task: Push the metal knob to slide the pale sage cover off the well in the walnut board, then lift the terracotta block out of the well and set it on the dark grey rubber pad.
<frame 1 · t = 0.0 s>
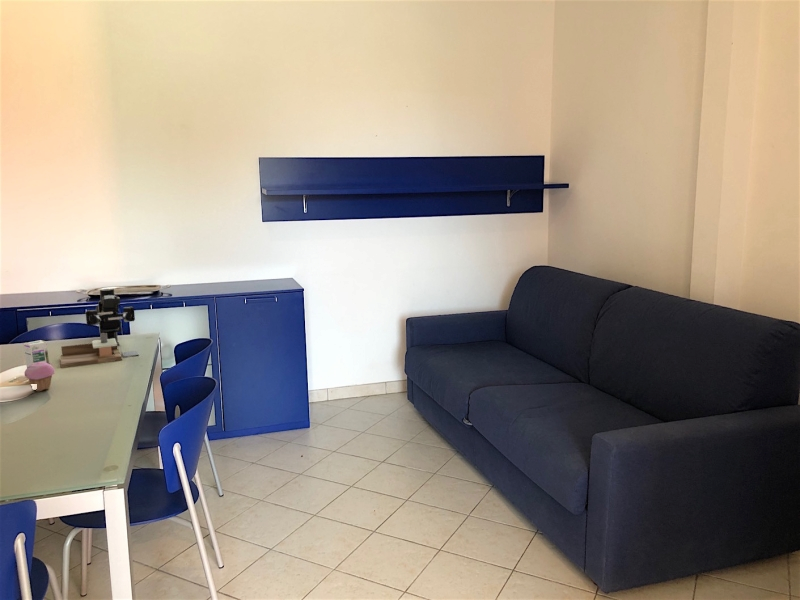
hand: (112, 319, 250), 17 cm above the table, tool horizontal, fingers open, 9 cm apart
terracotta block: (105, 357, 253), resting in walnut board
walnut board: (91, 359, 250), on the table
grey pad: (130, 354, 257), on the table
sliding cover: (104, 338, 253), point 8 cm above the table, slide at 0.0 cm
cupcake: (41, 390, 210), on the table
syrup box: (39, 380, 222), on the table
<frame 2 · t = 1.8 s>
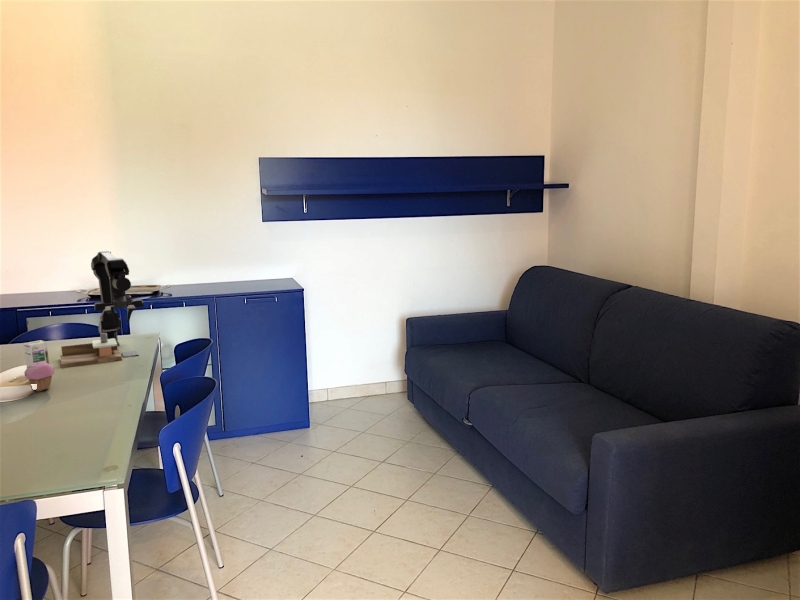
hand: (121, 324, 256), 13 cm above the table, tool pointing down, fingers open, 5 cm apart
nothing on the table moved.
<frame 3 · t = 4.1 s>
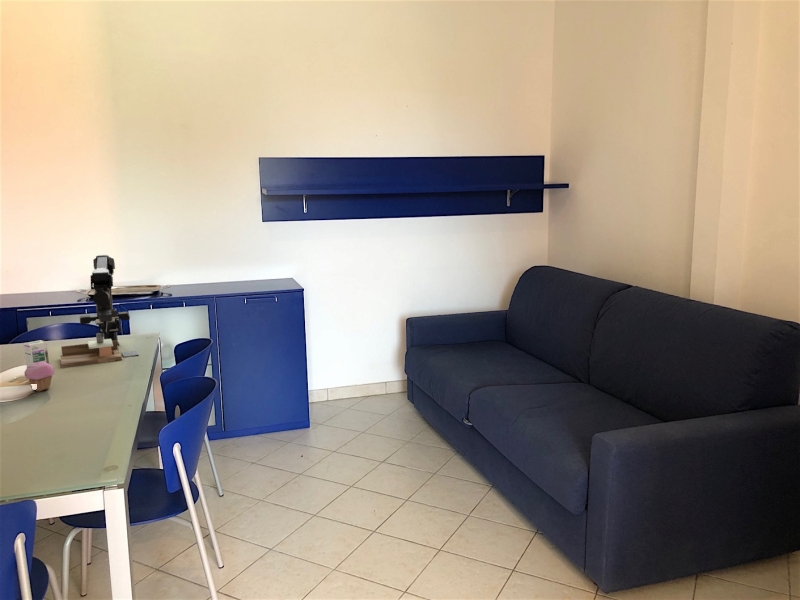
hand: (106, 337, 254), 8 cm above the table, tool pointing down, fingers closed
sliding cover: (99, 339, 253), point 8 cm above the table, slide at 1.6 cm, touching gripper
everything else where it was.
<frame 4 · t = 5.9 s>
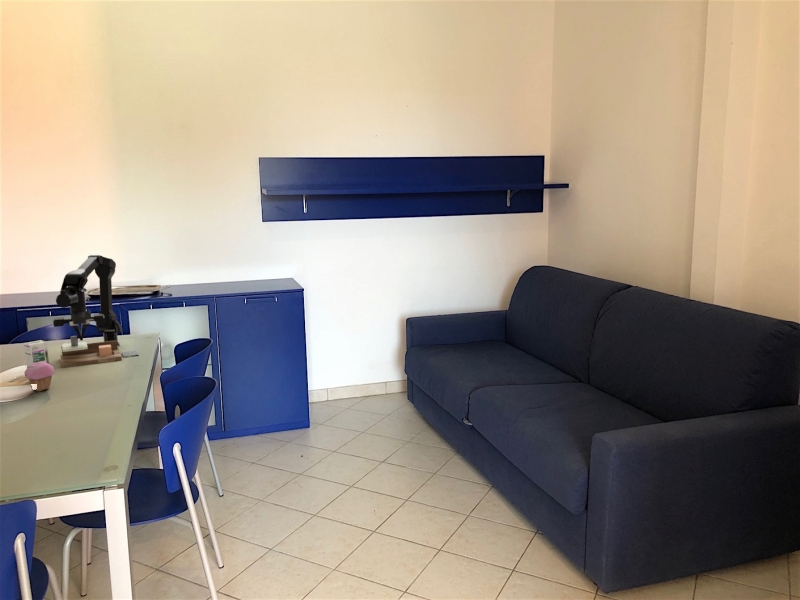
hand: (81, 340, 249), 8 cm above the table, tool pointing down, fingers closed
sliding cover: (74, 342, 248), point 8 cm above the table, slide at 11.0 cm, touching gripper
everything else where it was.
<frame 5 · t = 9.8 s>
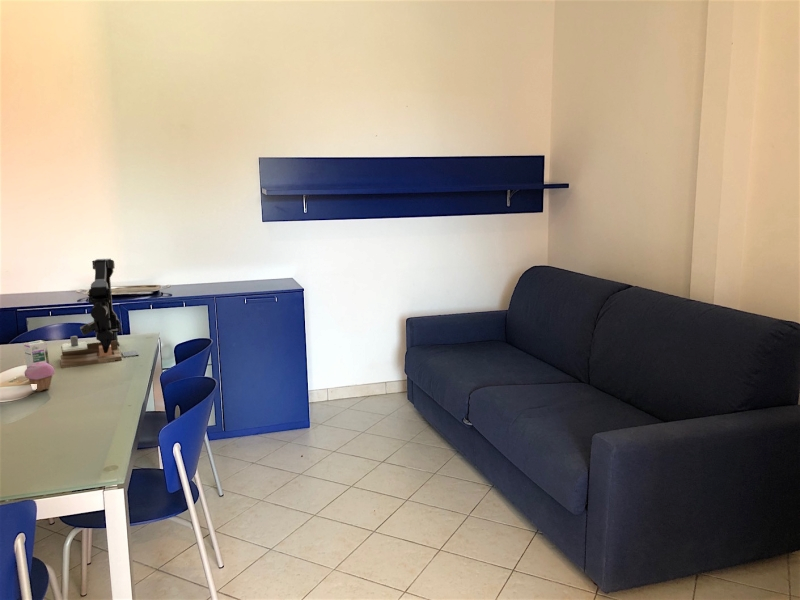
hand: (105, 351, 252), 3 cm above the table, tool pointing down, fingers closed on terracotta block, 4 cm apart
terracotta block: (105, 357, 253), resting in walnut board, touching gripper
sliding cover: (74, 342, 248), point 8 cm above the table, slide at 11.1 cm
everything else where it was.
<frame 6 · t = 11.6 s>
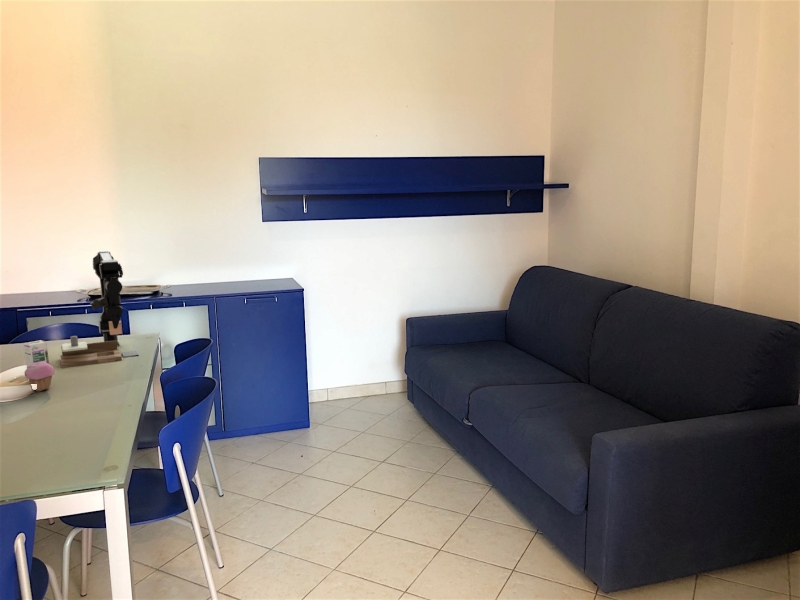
hand: (115, 327, 253), 12 cm above the table, tool pointing down, fingers closed on terracotta block, 4 cm apart
terracotta block: (115, 333, 253), point 10 cm above the table, touching gripper
everything else where it was.
when the fingers open (4 cm above the table, at t = 13.7 s): terracotta block drops 1 cm, resting on grey pad.
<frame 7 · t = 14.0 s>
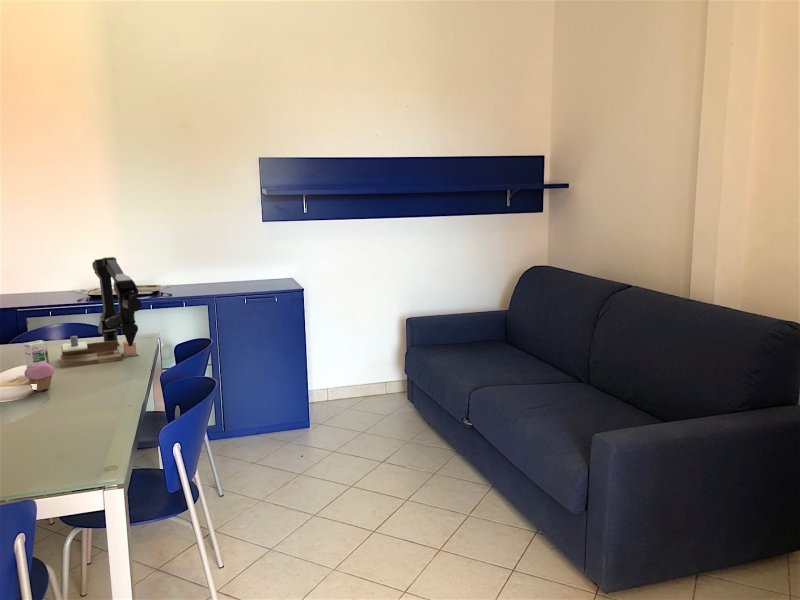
hand: (129, 344, 257), 4 cm above the table, tool pointing down, fingers open, 7 cm apart
terracotta block: (130, 353, 257), resting on grey pad
everything else where it was.
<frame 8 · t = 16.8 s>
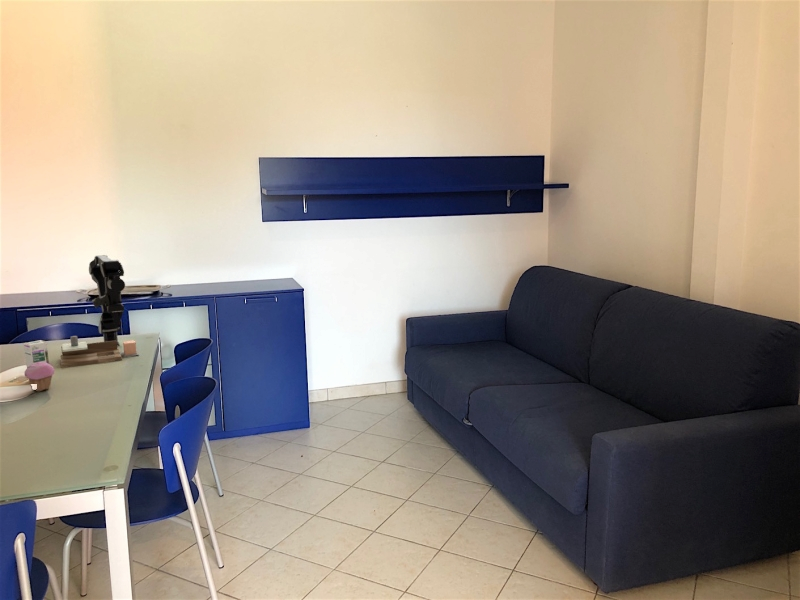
hand: (116, 324, 261), 12 cm above the table, tool pointing down, fingers open, 9 cm apart
nothing on the table moved.
at the end: sliding cover slide at 11.1 cm; terracotta block inside the target area on the grey pad (0.1 cm from its centre), point 0.5 cm above the grey pad's base; terracotta block tilted 0° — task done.
